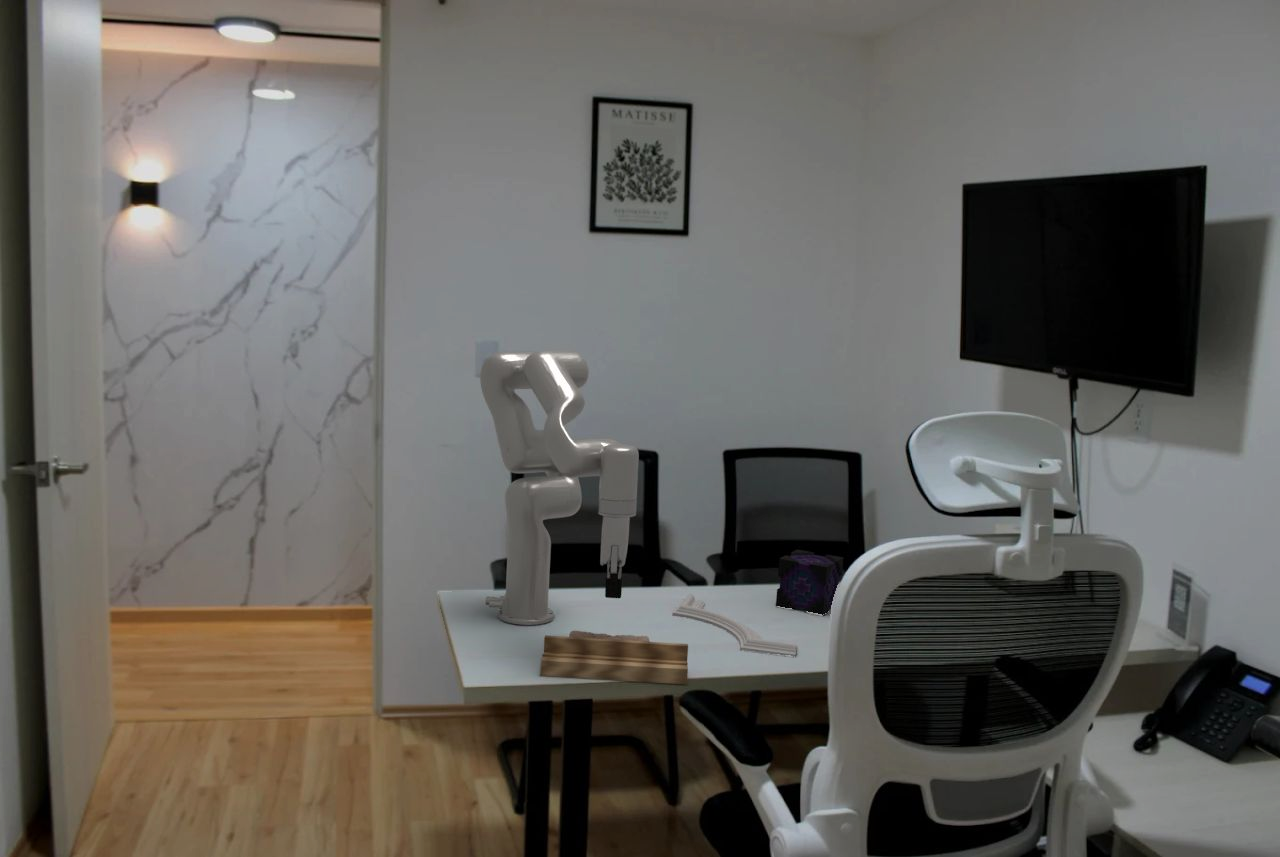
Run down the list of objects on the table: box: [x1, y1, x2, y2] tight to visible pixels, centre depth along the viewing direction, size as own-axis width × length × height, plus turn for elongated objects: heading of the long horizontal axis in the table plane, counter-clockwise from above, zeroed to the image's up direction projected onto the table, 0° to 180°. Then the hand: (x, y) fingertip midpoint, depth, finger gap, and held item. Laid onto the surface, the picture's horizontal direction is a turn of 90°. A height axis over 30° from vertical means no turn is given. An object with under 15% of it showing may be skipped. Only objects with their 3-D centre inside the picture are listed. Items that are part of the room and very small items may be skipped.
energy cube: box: [775, 549, 844, 615], centre depth 270 cm, size 12×12×12 cm
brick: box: [568, 630, 650, 642], centre depth 224 cm, size 16×8×5 cm, turn 92°
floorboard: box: [540, 634, 689, 685], centre depth 217 cm, size 28×10×6 cm, turn 89°
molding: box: [672, 593, 799, 656], centre depth 248 cm, size 42×12×3 cm, turn 32°
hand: (613, 596), depth 223 cm, fingers closed
